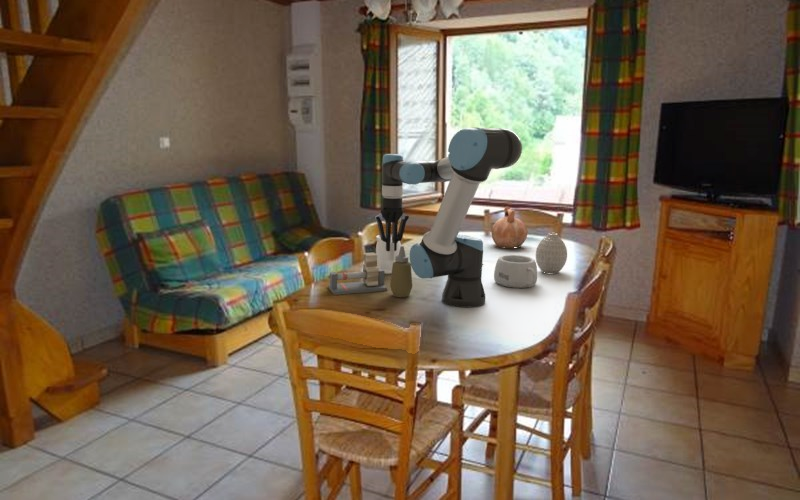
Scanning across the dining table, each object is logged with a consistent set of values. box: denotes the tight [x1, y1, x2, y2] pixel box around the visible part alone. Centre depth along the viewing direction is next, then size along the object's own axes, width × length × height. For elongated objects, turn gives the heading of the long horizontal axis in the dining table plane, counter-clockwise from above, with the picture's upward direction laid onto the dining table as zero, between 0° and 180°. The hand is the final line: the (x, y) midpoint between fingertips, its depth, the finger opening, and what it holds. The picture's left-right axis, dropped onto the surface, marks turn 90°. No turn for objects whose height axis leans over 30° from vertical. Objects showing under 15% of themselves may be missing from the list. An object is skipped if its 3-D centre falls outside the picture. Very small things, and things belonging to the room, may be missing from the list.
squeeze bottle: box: [389, 245, 413, 298], centre depth 201 cm, size 8×8×18 cm
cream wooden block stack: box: [362, 252, 379, 286], centre depth 210 cm, size 7×4×11 cm, turn 19°
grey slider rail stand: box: [327, 268, 388, 296], centre depth 209 cm, size 10×20×7 cm, turn 109°
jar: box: [375, 233, 402, 275], centre depth 233 cm, size 11×10×15 cm
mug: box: [493, 254, 538, 289], centre depth 218 cm, size 21×17×10 cm
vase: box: [535, 232, 568, 274], centre depth 238 cm, size 13×13×17 cm
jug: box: [490, 206, 529, 248], centre depth 286 cm, size 18×18×20 cm
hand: (390, 259), depth 212 cm, fingers closed
